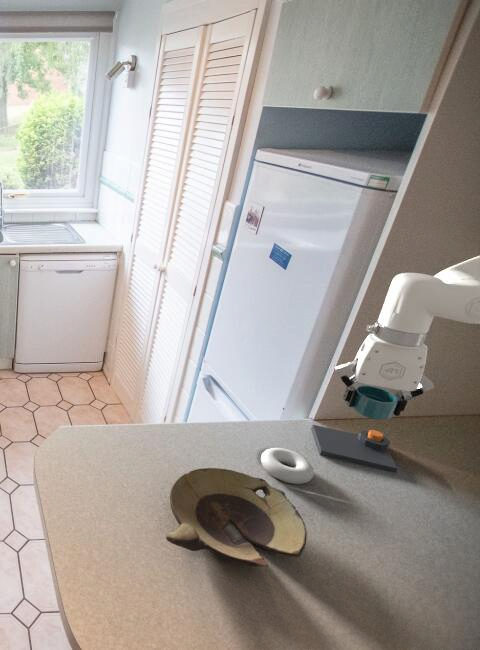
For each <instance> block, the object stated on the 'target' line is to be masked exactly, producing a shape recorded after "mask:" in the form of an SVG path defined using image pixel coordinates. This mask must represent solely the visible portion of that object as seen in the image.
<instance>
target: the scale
mask: <svg viewBox="0 0 480 650" xmlns="http://www.w3.org/2000/svg"><path fill="white" fill-rule="evenodd" d="M310 430H311V432H312V435H313V436H312V437H313V438H314V441H315V445H316V448H317V452H318V454H319V456H322V457H326V458H331V459H335V460H339V461H343V462H347V463H351V464H355V465H360V466H363V467H368V468H372V469H377V470H381V471H385V472H390V473H394V474H396V473H397V471H398V469H399V468H398V466H397V464H396V462H395V461H394V459H393V457H392V455H391V453H390V451H389V449H388V448H389V447H390V444H391V441H390V439H389V438H388V437H386V436H385V435H384V434H383V438H382V440H381V442H378V441H374V440H371V439H369V438H368V437H367V435H368V433H369V431H370V430H371V429H363V430H360V431H359V433H354V432H350V431H345V430H340V429H335V428H331V427H325V426H322V425H316V424H312V425H311V429H310Z"/></svg>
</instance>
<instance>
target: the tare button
mask: <svg viewBox="0 0 480 650" xmlns="http://www.w3.org/2000/svg"><path fill="white" fill-rule="evenodd" d="M369 430H370V431H369V433H368V435H367V437H368V438H369V439H371V440H374V441H378V442H381V440H382V438H383V435H384V434H383V433H382V432H381V431H378V430H375V429H369Z"/></svg>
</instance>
